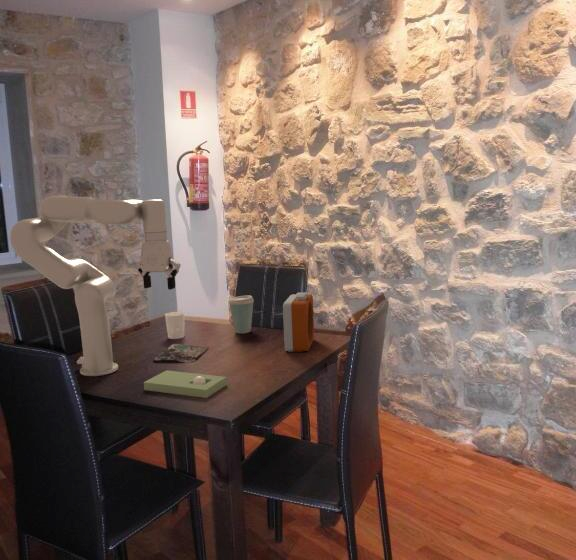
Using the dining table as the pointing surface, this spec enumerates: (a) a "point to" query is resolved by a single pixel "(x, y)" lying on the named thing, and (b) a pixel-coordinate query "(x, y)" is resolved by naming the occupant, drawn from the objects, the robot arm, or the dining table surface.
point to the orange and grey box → (298, 322)
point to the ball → (199, 380)
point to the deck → (185, 384)
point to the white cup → (175, 324)
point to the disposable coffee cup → (242, 313)
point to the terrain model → (180, 354)
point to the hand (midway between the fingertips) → (159, 288)
